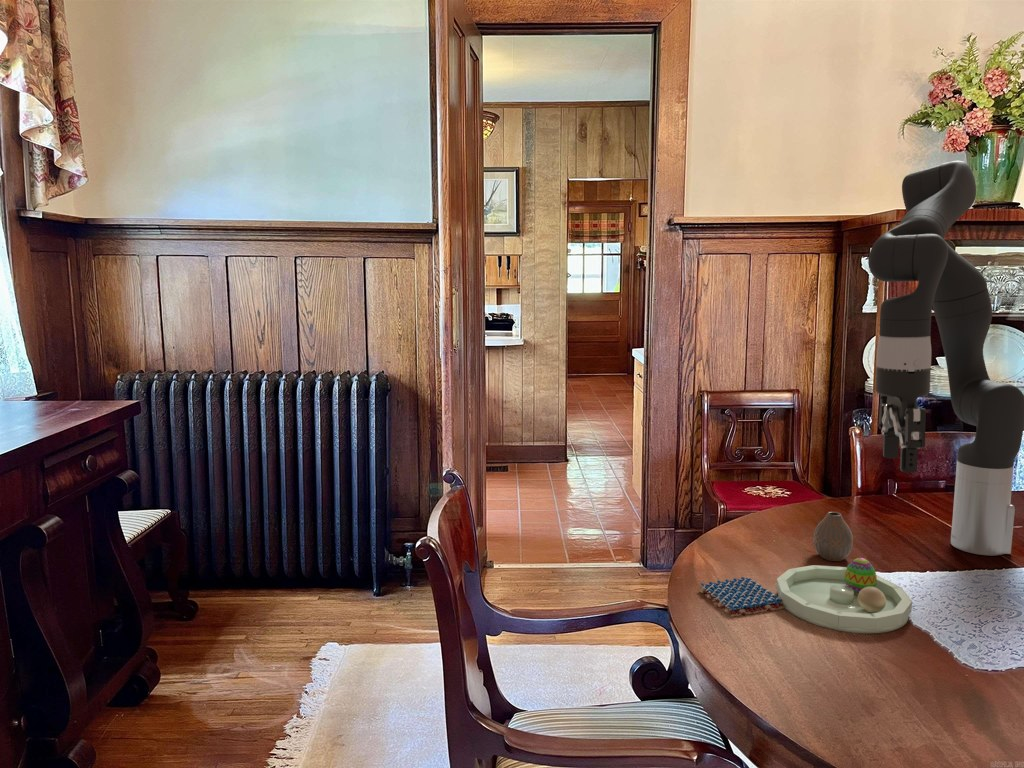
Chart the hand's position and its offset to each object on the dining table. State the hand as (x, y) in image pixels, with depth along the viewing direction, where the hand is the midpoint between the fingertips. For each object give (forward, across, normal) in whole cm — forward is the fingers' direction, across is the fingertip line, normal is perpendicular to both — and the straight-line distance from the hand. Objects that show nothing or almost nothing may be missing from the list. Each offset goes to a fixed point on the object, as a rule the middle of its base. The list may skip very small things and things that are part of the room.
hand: (899, 464), depth 115 cm
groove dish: (+24, +2, -8) cm, 25 cm away
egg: (+23, -2, -5) cm, 24 cm away
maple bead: (+23, +5, -5) cm, 24 cm away
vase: (+24, -19, -5) cm, 31 cm away
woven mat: (+24, +2, -24) cm, 34 cm away
